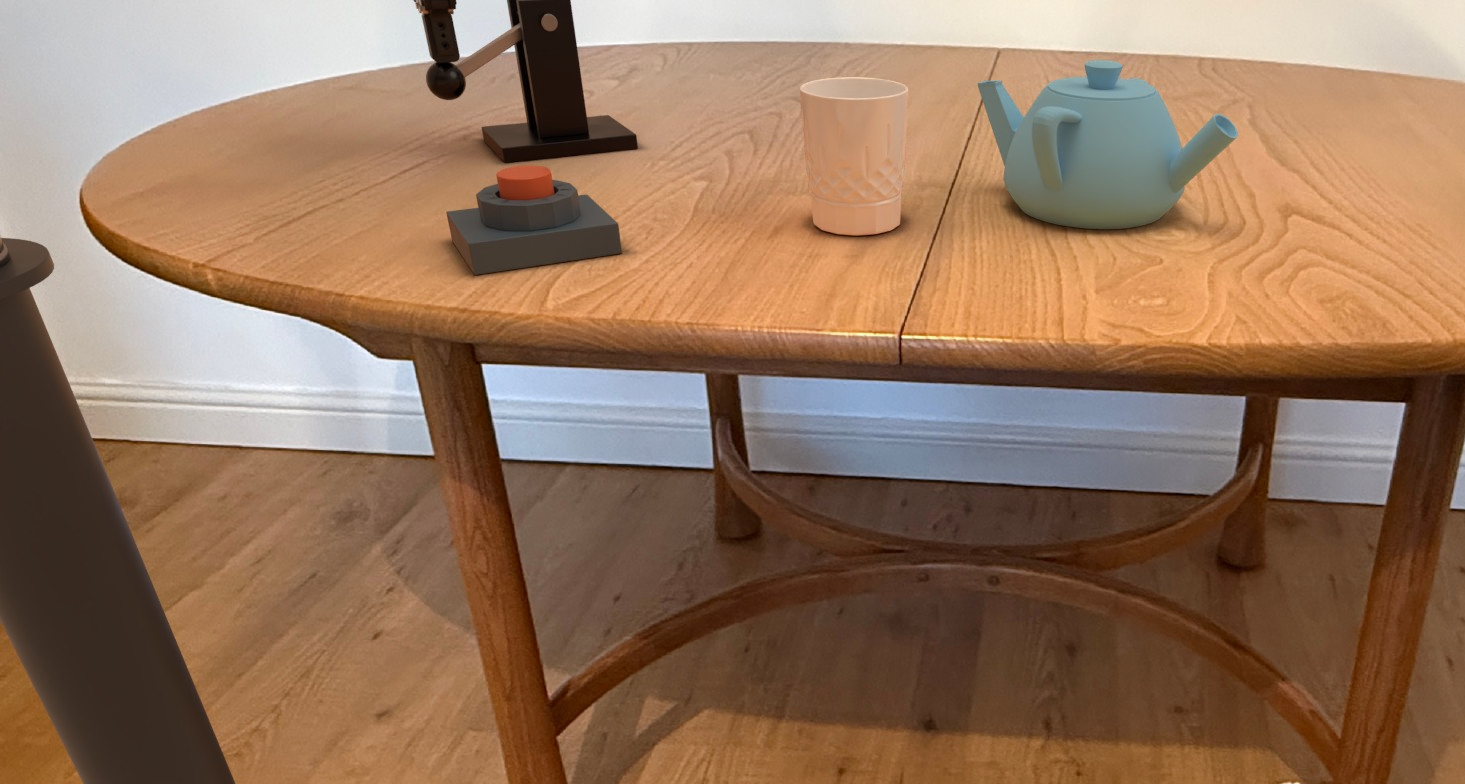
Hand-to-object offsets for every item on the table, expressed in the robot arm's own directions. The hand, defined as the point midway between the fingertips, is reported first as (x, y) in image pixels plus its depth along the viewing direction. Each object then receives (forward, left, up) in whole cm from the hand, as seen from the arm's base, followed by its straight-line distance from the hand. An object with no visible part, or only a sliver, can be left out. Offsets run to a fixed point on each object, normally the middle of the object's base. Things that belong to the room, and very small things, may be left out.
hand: (445, 60), depth 99 cm
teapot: (+42, -39, -8) cm, 58 cm away
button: (0, -29, -4) cm, 29 cm away
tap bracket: (+9, 0, -8) cm, 12 cm away
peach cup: (+23, -34, -8) cm, 42 cm away
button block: (0, -29, -8) cm, 30 cm away
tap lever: (+5, 0, -1) cm, 5 cm away
